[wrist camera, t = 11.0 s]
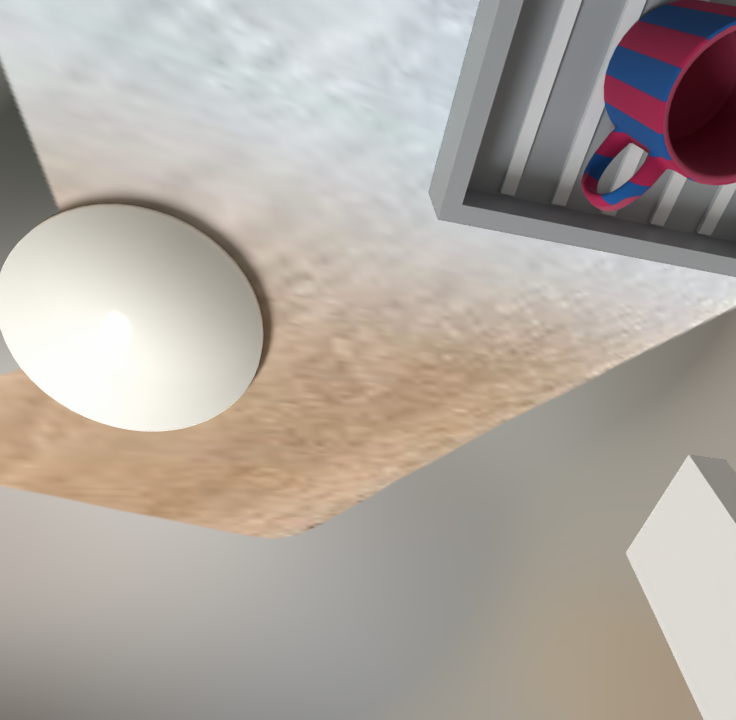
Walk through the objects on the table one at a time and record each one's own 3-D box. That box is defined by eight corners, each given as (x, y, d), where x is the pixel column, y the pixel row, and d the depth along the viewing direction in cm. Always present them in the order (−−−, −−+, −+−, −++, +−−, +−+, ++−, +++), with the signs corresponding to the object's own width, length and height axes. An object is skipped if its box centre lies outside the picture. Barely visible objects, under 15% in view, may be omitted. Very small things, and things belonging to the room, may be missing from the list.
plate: (-9, 176, 35) (-20, 183, 34) (279, 229, 37) (277, 237, 36) (16, 403, 44) (9, 413, 43) (250, 434, 46) (248, 445, 45)
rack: (515, -133, 28) (540, -144, 24) (902, -25, 31) (974, -20, 27) (428, 192, 36) (438, 219, 32) (741, 254, 39) (781, 285, 35)
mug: (760, 82, 32) (851, 113, 26) (587, 209, 35) (634, 260, 30) (704, -36, 29) (793, -31, 23) (522, 115, 32) (560, 152, 27)
